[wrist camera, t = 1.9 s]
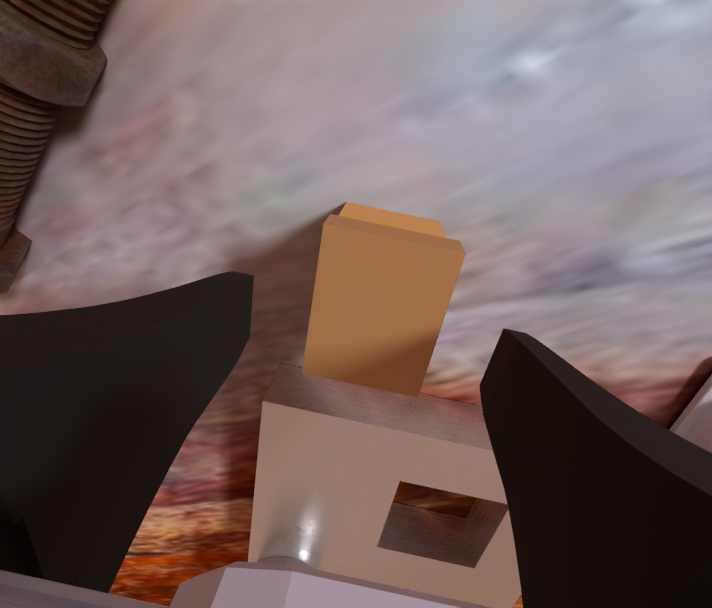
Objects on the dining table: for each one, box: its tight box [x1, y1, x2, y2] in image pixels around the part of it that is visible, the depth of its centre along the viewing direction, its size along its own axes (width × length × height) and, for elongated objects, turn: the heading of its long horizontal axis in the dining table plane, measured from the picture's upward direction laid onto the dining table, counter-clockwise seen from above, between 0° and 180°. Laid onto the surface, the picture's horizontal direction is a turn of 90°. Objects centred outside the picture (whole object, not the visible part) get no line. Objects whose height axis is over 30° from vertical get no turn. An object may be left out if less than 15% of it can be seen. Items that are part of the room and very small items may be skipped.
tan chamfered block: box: [302, 202, 465, 398], centre depth 14 cm, size 4×5×6 cm
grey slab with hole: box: [248, 363, 522, 608], centre depth 21 cm, size 16×16×7 cm
